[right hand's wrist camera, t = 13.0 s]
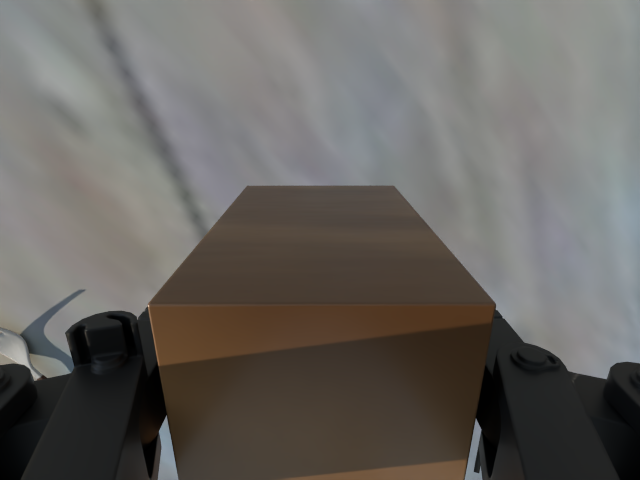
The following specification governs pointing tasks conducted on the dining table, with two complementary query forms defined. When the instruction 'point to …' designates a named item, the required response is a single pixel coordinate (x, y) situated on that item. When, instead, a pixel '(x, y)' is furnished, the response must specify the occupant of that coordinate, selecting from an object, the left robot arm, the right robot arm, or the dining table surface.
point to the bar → (321, 342)
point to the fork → (17, 350)
